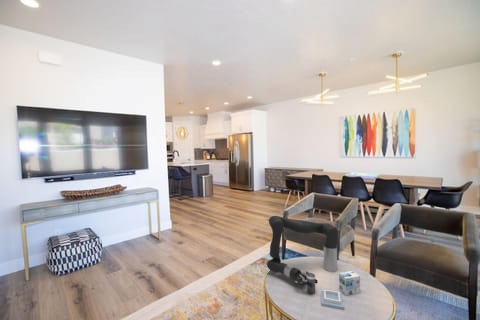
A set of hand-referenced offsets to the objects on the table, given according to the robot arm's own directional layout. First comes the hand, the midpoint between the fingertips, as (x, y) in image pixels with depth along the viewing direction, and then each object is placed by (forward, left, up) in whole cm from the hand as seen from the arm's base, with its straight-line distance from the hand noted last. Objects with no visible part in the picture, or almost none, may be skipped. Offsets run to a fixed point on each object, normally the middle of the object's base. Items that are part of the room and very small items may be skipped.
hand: (314, 283), depth 138 cm
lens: (-1, -2, -7) cm, 7 cm away
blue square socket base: (+4, +10, -7) cm, 12 cm away
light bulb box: (-9, +21, -7) cm, 24 cm away
